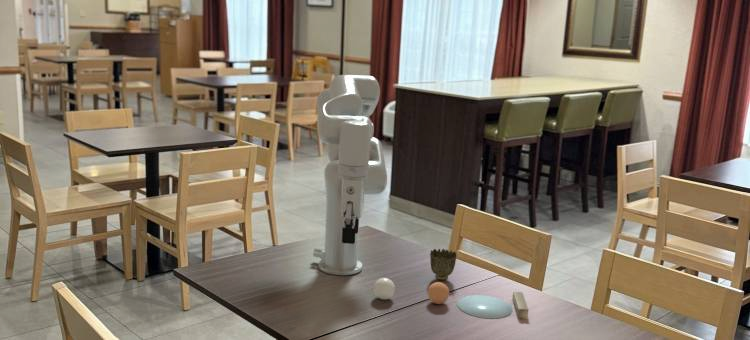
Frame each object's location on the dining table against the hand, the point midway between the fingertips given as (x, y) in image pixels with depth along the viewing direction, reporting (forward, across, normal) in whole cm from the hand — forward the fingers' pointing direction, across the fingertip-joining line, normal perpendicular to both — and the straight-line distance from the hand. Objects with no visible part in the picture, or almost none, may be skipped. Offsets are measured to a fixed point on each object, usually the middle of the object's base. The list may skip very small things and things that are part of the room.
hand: (350, 237), depth 176 cm
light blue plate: (+16, 0, -35) cm, 39 cm away
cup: (+16, +16, -25) cm, 34 cm away
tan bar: (+16, 0, -44) cm, 47 cm away
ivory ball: (+13, 0, -10) cm, 16 cm away
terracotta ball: (+13, 0, -24) cm, 27 cm away
